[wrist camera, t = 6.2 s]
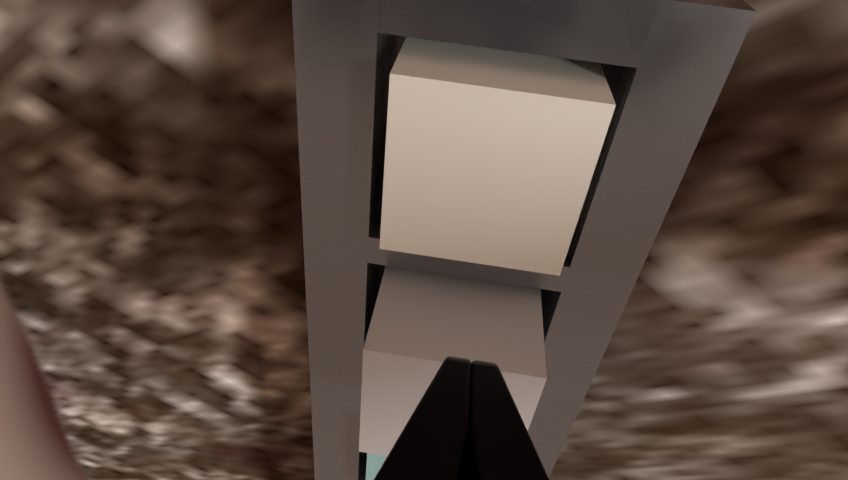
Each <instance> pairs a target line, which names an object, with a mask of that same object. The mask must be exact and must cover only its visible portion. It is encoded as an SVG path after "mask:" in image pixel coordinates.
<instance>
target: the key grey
mask: <svg viewBox="0 0 848 480" xmlns="http://www.w3.org/2000/svg"><path fill="white" fill-rule="evenodd" d="M448 356H453V357H460V358H466V359H469V360H470V361H471V363H472V362H473V361H474V360H479V361H486V362H492V363H495V364H496V365H497V366H498V367H499V369H500V371H501V373H502V375H503V378H504V380H505V382H506V384H507V387H508V389H509V391H510V393H511V395H512V398H513V400H514V402H515V404H516V407H517V409H518V411H519V413H520V416H521V418H522V420H523V422H524V424H525V427H526V429H527V431H528V429H529V426H530V424H531V421H532V418H533V415H534V413H535V410H536V407H537V404H538V402H539V399H540V396H541V393H542V391H543V388H544V385H545V382H546V380H547V372H546V358H545V344H544V330H543V317H542V303H541V289H538V288H532V287H525V286H518V285H512V284H505V283H498V282H492V281H485V280H479V279H472V278H465V277H459V276H452V275H445V274H439V273H432V272H426V271H419V270H412V269H406V268H399V267H392V266H385V270H384V274H383V278H382V281H381V285H380V289H379V292H378V296H377V300H376V304H375V307H374V311H373V315H372V318H371V322H370V326H369V330H368V333H367V337H366V341H365V344H364V348H363V364H362V387H361V411H360V434H359V452H365V453H371V454H377V455H383V456H388V455H389V453H390V451H391V449H392V448H393V446H394V444H395V443H396V441H397V439H398V438H399V436H400V434H401V433H402V431H403V429H404V427H405V426H406V424H407V422H408V421H409V419H410V417H411V416H412V414H413V412H414V410H415V409H416V407H417V405H418V404H419V402H420V400H421V399H422V397H423V395H424V393H425V392H426V390H427V388H428V387H429V385H430V383H431V382H432V380H433V378H434V377H435V375H436V373H437V371H438V370H439V368H440V366H441V365H442V363H443V361H444V360H445V358H446V357H448Z"/></svg>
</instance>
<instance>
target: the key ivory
mask: <svg viewBox="0 0 848 480" xmlns="http://www.w3.org/2000/svg"><path fill="white" fill-rule="evenodd" d="M615 106H616V104H615V101H614V98H613V96H612V93H611V90H610V88H609V85H608V82H607V80H606V77H605V75H604V72H603V69H602V67H601V64H600V63H596V62H589V61H582V60H574V59H567V58H560V57H552V56H545V55H538V54H530V53H523V52H516V51H508V50H501V49H494V48H486V47H479V46H472V45H464V44H457V43H450V42H442V41H435V40H428V39H420V38H413V37H406V39H405V41H404V43H403V46H402V48H401V50H400V52H399V54H398V57H397V59H396V61H395V63H394V65H393V68H392V70H391V72H390V79H389V96H388V112H387V129H386V146H385V163H384V179H383V196H382V213H381V230H380V247H379V249H384V250H391V251H397V252H404V253H411V254H417V255H424V256H431V257H437V258H444V259H451V260H457V261H464V262H471V263H477V264H484V265H491V266H497V267H504V268H511V269H517V270H524V271H531V272H537V273H544V274H551V275H558V276H560V274H561V271H562V268H563V265H564V262H565V259H566V255H567V252H568V249H569V246H570V243H571V240H572V237H573V234H574V231H575V228H576V225H577V222H578V219H579V216H580V213H581V210H582V207H583V204H584V201H585V198H586V195H587V192H588V189H589V186H590V182H591V179H592V176H593V173H594V170H595V167H596V164H597V161H598V158H599V155H600V152H601V149H602V146H603V143H604V140H605V137H606V134H607V131H608V128H609V125H610V122H611V119H612V116H613V113H614V109H615Z"/></svg>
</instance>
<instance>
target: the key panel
mask: <svg viewBox="0 0 848 480" xmlns="http://www.w3.org/2000/svg"><path fill="white" fill-rule="evenodd" d="M756 12H757V11H755V10H754V9H753V8H752V7H750V6H749V5H748V4H746V3H745V2H744V1H743V0H292V18H293V39H294V59H295V80H296V101H297V122H298V143H299V163H300V184H301V205H302V226H303V247H304V267H305V288H306V309H307V330H308V351H309V371H310V392H311V413H312V434H313V455H314V475H315V480H366V464H367V453H365V452H359V434H360V411H361V387H362V364H363V348H364V344H365V341H366V337H367V333H368V330H369V326H370V322H371V318H372V315H373V311H374V307H375V304H376V300H377V296H378V292H379V289H380V285H381V281H382V278H383V274H384V270H385V266H392V267H399V268H406V269H412V270H419V271H426V272H432V273H439V274H445V275H452V276H459V277H465V278H472V279H479V280H485V281H492V282H498V283H505V284H512V285H518V286H525V287H532V288H538V289H541V303H542V317H543V330H544V344H545V358H546V372H547V380H546V382H545V385H544V388H543V391H542V393H541V396H540V399H539V402H538V404H537V407H536V410H535V413H534V415H533V418H532V421H531V424H530V426H529V429H528V433H529V436H530V438H531V440H532V442H533V444H534V447H535V449H536V451H537V453H538V456H539V458H540V460H541V462H542V465H543V467H544V469H545V471H546V473H547V476H548V478H549V476H550V474H551V472H552V470H553V467H554V465H555V463H556V461H557V458H558V456H559V454H560V452H561V449H562V447H563V445H564V443H565V440H566V438H567V436H568V434H569V431H570V429H571V427H572V425H573V422H574V420H575V418H576V416H577V413H578V411H579V409H580V407H581V404H582V402H583V400H584V398H585V395H586V393H587V391H588V389H589V386H590V384H591V382H592V380H593V378H594V375H595V373H596V371H597V369H598V366H599V364H600V362H601V360H602V357H603V355H604V353H605V351H606V348H607V346H608V344H609V342H610V339H611V337H612V335H613V333H614V330H615V328H616V326H617V324H618V321H619V319H620V317H621V315H622V312H623V310H624V308H625V306H626V303H627V301H628V299H629V297H630V294H631V292H632V290H633V288H634V285H635V283H636V281H637V279H638V277H639V274H640V272H641V270H642V268H643V265H644V263H645V261H646V259H647V256H648V254H649V252H650V250H651V247H652V245H653V243H654V241H655V238H656V236H657V234H658V232H659V229H660V227H661V225H662V223H663V220H664V218H665V216H666V214H667V211H668V209H669V207H670V205H671V202H672V200H673V198H674V196H675V193H676V191H677V189H678V187H679V184H680V182H681V180H682V178H683V176H684V173H685V171H686V169H687V167H688V164H689V162H690V160H691V158H692V155H693V153H694V151H695V149H696V146H697V144H698V142H699V140H700V137H701V135H702V133H703V131H704V128H705V126H706V124H707V122H708V119H709V117H710V115H711V113H712V110H713V108H714V106H715V104H716V101H717V99H718V97H719V95H720V92H721V90H722V88H723V86H724V83H725V81H726V79H727V77H728V74H729V72H730V70H731V68H732V66H733V63H734V61H735V59H736V57H737V54H738V52H739V50H740V48H741V45H742V43H743V41H744V39H745V36H746V34H747V32H748V30H749V27H750V25H751V23H752V21H753V18H754V16H755V14H756ZM406 37H413V38H420V39H428V40H435V41H442V42H450V43H457V44H464V45H472V46H479V47H486V48H494V49H501V50H508V51H516V52H523V53H530V54H538V55H545V56H552V57H560V58H567V59H574V60H582V61H589V62H596V63H600V64H601V67H602V69H603V72H604V75H605V77H606V80H607V82H608V85H609V88H610V90H611V93H612V96H613V98H614V101H615V104H616V106H615V109H614V113H613V116H612V119H611V122H610V125H609V128H608V131H607V134H606V137H605V140H604V143H603V146H602V149H601V152H600V155H599V158H598V161H597V164H596V167H595V170H594V173H593V176H592V179H591V182H590V186H589V189H588V192H587V195H586V198H585V201H584V204H583V207H582V210H581V213H580V216H579V219H578V222H577V225H576V228H575V231H574V234H573V237H572V240H571V243H570V246H569V249H568V252H567V255H566V259H565V262H564V265H563V268H562V271H561V274H560V276H558V275H551V274H544V273H537V272H531V271H524V270H517V269H511V268H504V267H497V266H491V265H484V264H477V263H471V262H464V261H457V260H451V259H444V258H437V257H431V256H424V255H417V254H411V253H404V252H397V251H391V250H384V249H379V247H380V230H381V213H382V196H383V179H384V163H385V146H386V129H387V112H388V96H389V79H390V72H391V70H392V68H393V65H394V63H395V61H396V59H397V57H398V54H399V52H400V50H401V48H402V46H403V43H404V41H405V39H406Z"/></svg>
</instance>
